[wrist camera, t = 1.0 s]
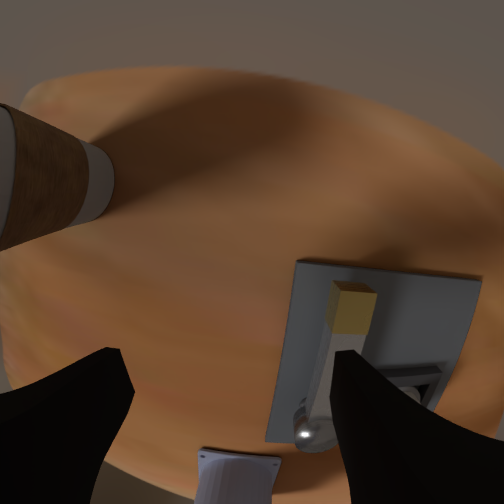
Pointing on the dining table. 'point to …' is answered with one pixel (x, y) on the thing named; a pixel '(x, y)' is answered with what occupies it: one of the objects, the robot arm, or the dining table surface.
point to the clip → (333, 339)
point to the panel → (375, 333)
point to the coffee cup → (47, 179)
